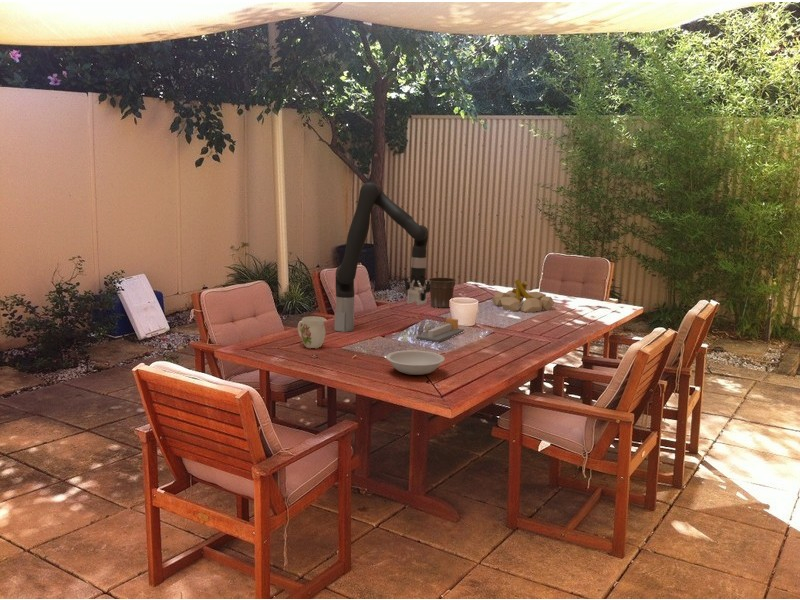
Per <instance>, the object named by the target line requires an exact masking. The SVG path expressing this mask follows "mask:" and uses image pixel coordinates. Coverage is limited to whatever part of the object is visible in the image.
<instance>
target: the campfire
mask: <svg viewBox="0 0 800 600" xmlns="http://www.w3.org/2000/svg"><path fill="white" fill-rule="evenodd" d="M514 284H515V287H516V288H514V287H513V288H512V290H508V291H507V292H500V291H497V292H496V293H495V294H494V296H493V297H492V299H491V301H492V302H493V305H494V306H495V307H502V309H503V311H507V310H510V311H509V312H517V311H519V309H520V311H522V312H523V313H537V312H536V311H538V312H540V311H550V310H551V309H552V307H553V306H554V305H555V302H554V299H553V298H552V296H549V295H548V296H547V294H545V293H543V292H539V291H532V292H527V290H526V288H527V286H528V285H529V283H528V281H526V280H524V281H523V282H521V281H520V280H519V279H516V280H515V281H514ZM524 299H525V300H524ZM523 300H524V301H523ZM522 302H523V303H522ZM521 303H522V305H521ZM520 306H521V308H520ZM542 309H544V310H542ZM549 309H550V310H549Z"/></svg>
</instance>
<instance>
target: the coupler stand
mask: <svg viewBox="0 0 800 600" xmlns="http://www.w3.org/2000/svg"><path fill="white" fill-rule="evenodd" d="M458 327H459V318H458V319H457V318H456V319H455V318H451V317H450V318H449V317H446V318H445V324H442V325H440V326H436V327H434V328H432V329H429V330H427V331H426V332H424V333H422V334H418V335H416V337H415V340H416V339H420V340H419V341H422V340H426V341H425V342H428V341H432V342H431V343H434V342H440V341H442V342H444V341H446V340H445V339H447V338H449V339H451V338H450V337H452V336H454V335H456V336H458V335H457V334H459V333H461V332H463V331H464V332H465V329H462V328H458ZM461 334H462V333H461ZM459 335H460V334H459ZM454 337H455V336H454ZM452 338H453V337H452ZM443 340H444V341H443ZM447 340H448V339H447ZM440 343H441V342H440Z"/></svg>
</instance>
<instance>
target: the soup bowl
mask: <svg viewBox="0 0 800 600" xmlns="http://www.w3.org/2000/svg"><path fill="white" fill-rule="evenodd" d="M385 358H386V361H388V362H390V364H391V365H392V367H393V368H394V369H395V370H396V371H398V372H400V373H402V374H406V375H410V376H411V375H412V376H414V375H415V376H418V375H419V376H421V375H427V374H430V373H432V372H434V371H435V370H437V369H438V367H440V364H442V363H444V361H445V359H446V358H445V357H444V355H442V354H439V353H437V352H434V351H427V350H417V349H413V350H412V349H409V350H408V349H407V350H405V349H404V350H398V351H392V352H390V353H388V354H387V355H386V356H385Z"/></svg>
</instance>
